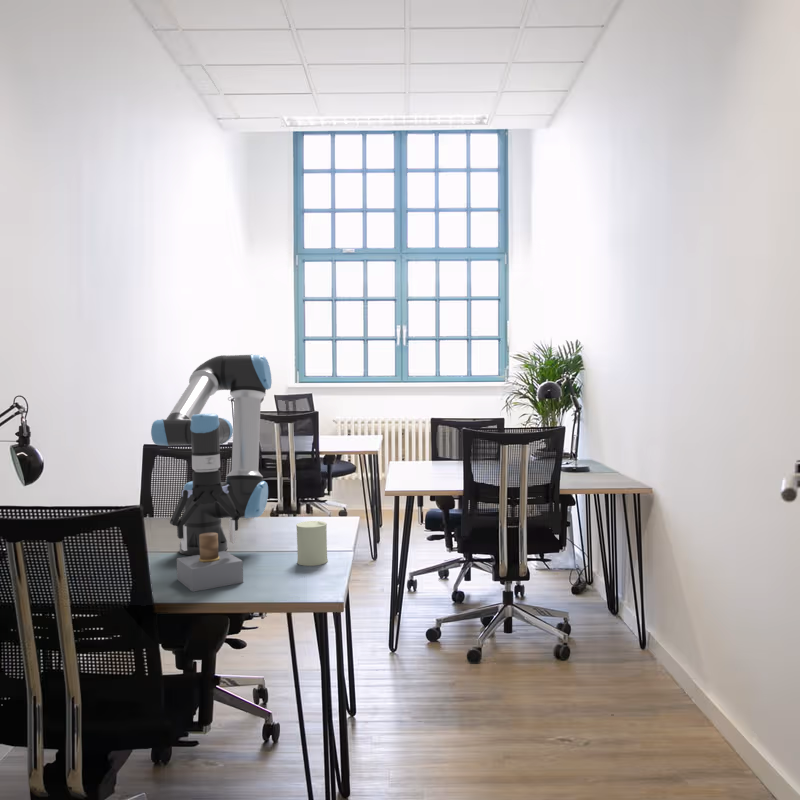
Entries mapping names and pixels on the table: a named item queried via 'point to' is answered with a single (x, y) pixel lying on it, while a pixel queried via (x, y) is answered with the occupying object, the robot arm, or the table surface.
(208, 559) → the walnut peg
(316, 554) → the can
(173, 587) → the table surface
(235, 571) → the socket block
